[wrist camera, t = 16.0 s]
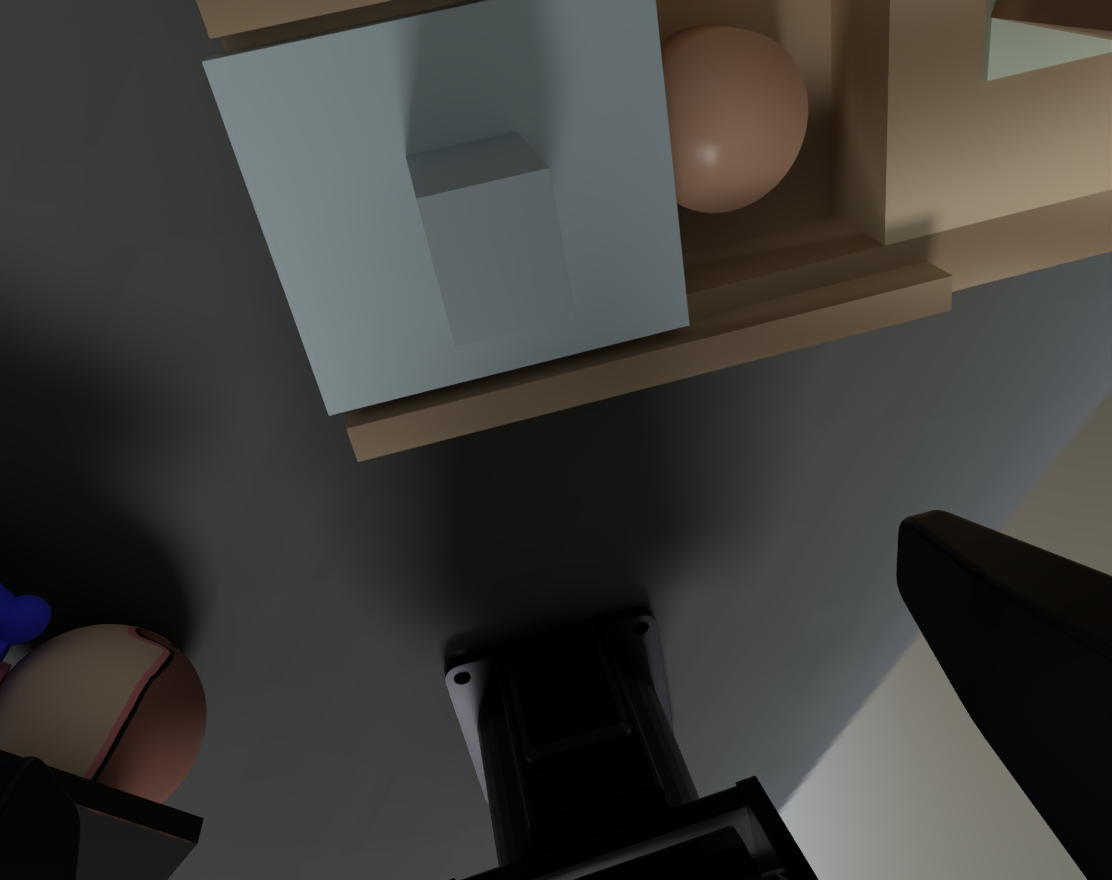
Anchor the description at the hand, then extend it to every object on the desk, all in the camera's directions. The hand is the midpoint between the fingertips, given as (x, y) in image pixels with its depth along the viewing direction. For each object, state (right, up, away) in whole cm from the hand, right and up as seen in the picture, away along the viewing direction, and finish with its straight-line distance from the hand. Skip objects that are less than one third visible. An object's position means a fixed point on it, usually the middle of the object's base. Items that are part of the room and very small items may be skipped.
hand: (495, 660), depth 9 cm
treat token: (+4, +9, +10) cm, 14 cm away
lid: (-1, +7, +8) cm, 10 cm away
